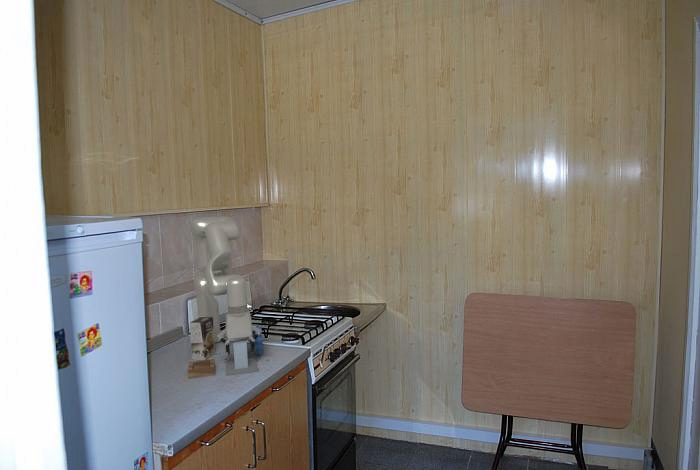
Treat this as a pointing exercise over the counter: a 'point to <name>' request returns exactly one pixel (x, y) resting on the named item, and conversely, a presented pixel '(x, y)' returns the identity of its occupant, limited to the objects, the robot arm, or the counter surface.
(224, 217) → the robot arm
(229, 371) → the mat
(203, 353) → the coffee box
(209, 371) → the pocket holder
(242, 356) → the block
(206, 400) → the counter surface
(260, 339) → the grapes
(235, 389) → the counter surface
